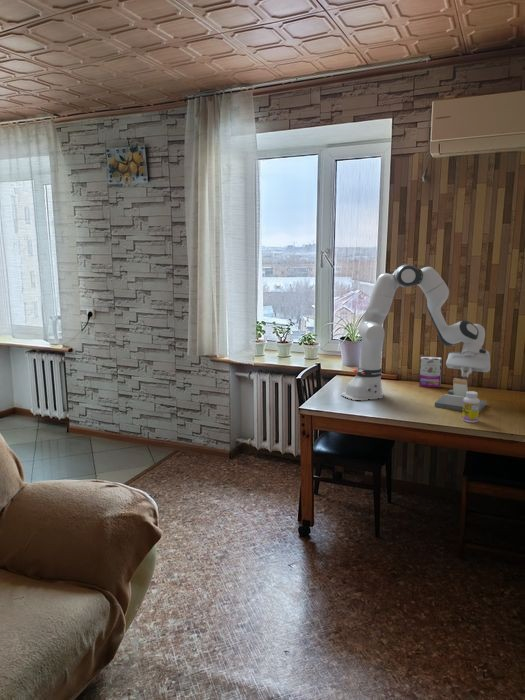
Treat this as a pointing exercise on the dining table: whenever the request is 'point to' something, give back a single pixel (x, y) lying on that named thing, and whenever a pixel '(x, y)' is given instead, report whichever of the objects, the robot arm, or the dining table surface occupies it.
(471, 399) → the supplement bottle
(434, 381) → the candy bar box
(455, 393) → the breaker lever
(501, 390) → the dining table surface
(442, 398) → the breaker housing
